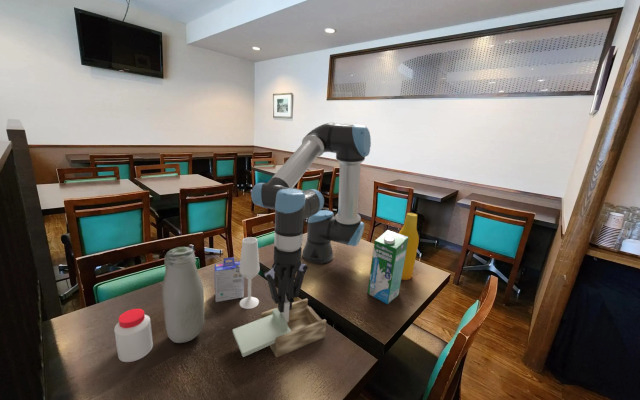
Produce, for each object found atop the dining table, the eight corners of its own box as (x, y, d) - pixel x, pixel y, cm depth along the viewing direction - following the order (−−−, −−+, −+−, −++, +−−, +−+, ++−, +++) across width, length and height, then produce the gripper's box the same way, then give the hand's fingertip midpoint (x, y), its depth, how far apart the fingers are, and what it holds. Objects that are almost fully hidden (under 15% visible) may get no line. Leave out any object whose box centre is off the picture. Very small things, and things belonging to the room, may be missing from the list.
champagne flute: (251, 311, 90) (252, 246, 84) (235, 305, 92) (234, 241, 86) (262, 299, 96) (264, 238, 90) (246, 294, 98) (247, 234, 92)
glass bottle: (192, 319, 84) (187, 237, 76) (211, 335, 78) (208, 248, 71) (159, 338, 76) (150, 248, 69) (178, 357, 70) (170, 261, 63)
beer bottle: (403, 268, 127) (414, 210, 119) (416, 279, 118) (428, 217, 111) (387, 270, 124) (396, 211, 116) (398, 281, 115) (409, 218, 108)
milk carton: (367, 293, 105) (375, 234, 98) (378, 284, 111) (387, 229, 105) (387, 304, 99) (397, 242, 92) (398, 294, 105) (409, 236, 99)
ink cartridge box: (242, 289, 101) (242, 254, 98) (244, 297, 96) (244, 261, 93) (214, 293, 97) (213, 257, 94) (215, 302, 92) (214, 265, 89)
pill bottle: (114, 365, 66) (108, 329, 64) (122, 343, 73) (117, 309, 70) (150, 357, 70) (146, 322, 67) (154, 336, 76) (151, 303, 74)
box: (305, 313, 91) (306, 298, 89) (324, 337, 81) (326, 320, 79) (260, 329, 82) (260, 312, 81) (276, 357, 72) (276, 339, 71)
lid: (278, 315, 83) (278, 305, 81) (292, 335, 75) (291, 324, 74) (232, 333, 75) (231, 322, 74) (242, 357, 68) (242, 345, 67)
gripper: (302, 237, 79) (297, 305, 85) (260, 244, 72) (258, 318, 78) (315, 247, 73) (309, 320, 79) (271, 256, 66) (268, 335, 72)
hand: (284, 319), depth 78 cm, fingers closed
